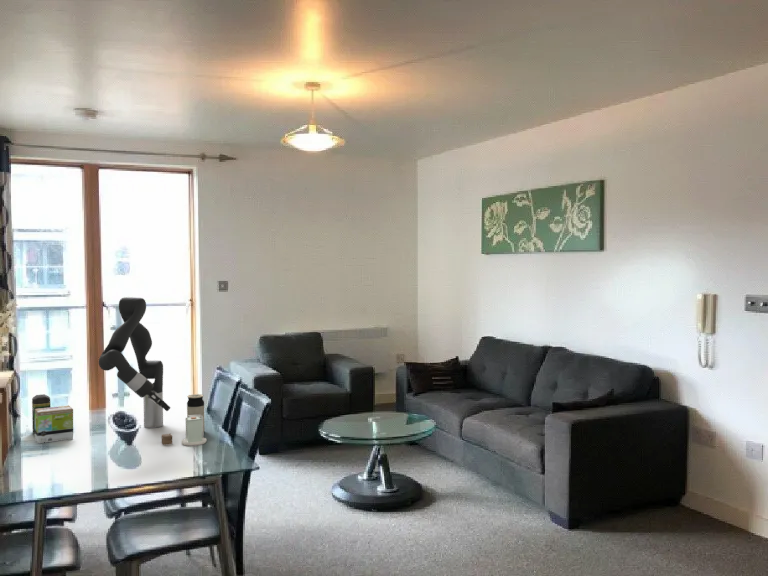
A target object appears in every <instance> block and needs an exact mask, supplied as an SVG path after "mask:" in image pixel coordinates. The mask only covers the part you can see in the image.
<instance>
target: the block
mask: <svg viewBox="0 0 768 576" xmlns="http://www.w3.org/2000/svg"><path fill="white" fill-rule="evenodd" d="M161 445H163V446H168V445H173V434H172V433H162V434H161Z"/></svg>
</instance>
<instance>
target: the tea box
mask: <svg viewBox="0 0 768 576" xmlns="http://www.w3.org/2000/svg"><path fill="white" fill-rule="evenodd" d="M67 439H70V440H73V439H74V408H73V407H72V406H71V405H69V404H68V405H61V406H60V405H59V406H51V407H49V408H39V409H35V434H34V440H35V442H36V443H37V442H38V443H37V444H44V442H45V443H52V442H59V441H58V440H61V441H68V440H67Z"/></svg>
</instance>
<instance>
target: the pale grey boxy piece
mask: <svg viewBox="0 0 768 576" xmlns="http://www.w3.org/2000/svg"><path fill="white" fill-rule="evenodd" d="M185 439H186V440H187V441H188V443H189V442H197V441H202V419H201V418H200V417H199V416H198V417H189V418H187V417H185Z"/></svg>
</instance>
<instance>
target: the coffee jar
mask: <svg viewBox="0 0 768 576" xmlns="http://www.w3.org/2000/svg"><path fill="white" fill-rule="evenodd" d="M31 400H32V401H31V406H32V407H31V408H32V411H31V412H32V413H31V414H32V416H31V417H32V418H31V419H32V420H31V422H32V433H33V435H35V409H39V408H49V407H52V406H51V397H50V396H49V395H46V394H36V395H35V396H33V397H32V399H31Z"/></svg>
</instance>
